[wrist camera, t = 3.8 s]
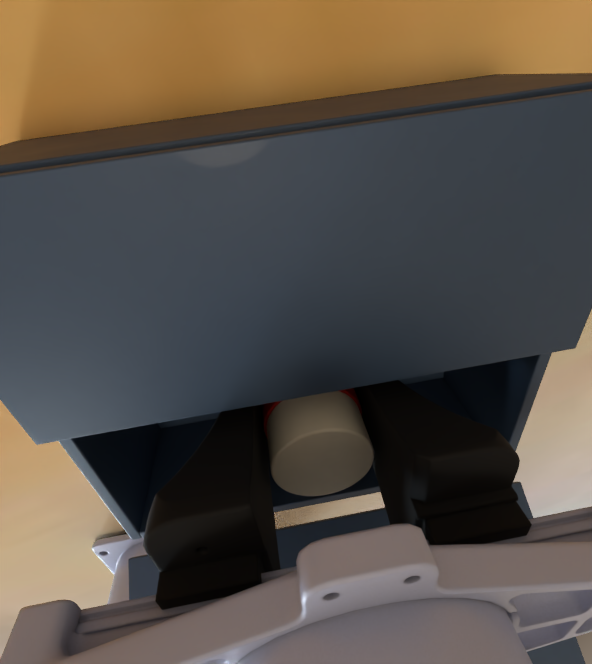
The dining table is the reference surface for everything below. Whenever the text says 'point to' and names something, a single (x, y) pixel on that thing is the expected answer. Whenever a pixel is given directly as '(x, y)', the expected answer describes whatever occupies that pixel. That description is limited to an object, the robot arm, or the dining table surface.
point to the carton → (291, 267)
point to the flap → (552, 660)
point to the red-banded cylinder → (317, 442)
